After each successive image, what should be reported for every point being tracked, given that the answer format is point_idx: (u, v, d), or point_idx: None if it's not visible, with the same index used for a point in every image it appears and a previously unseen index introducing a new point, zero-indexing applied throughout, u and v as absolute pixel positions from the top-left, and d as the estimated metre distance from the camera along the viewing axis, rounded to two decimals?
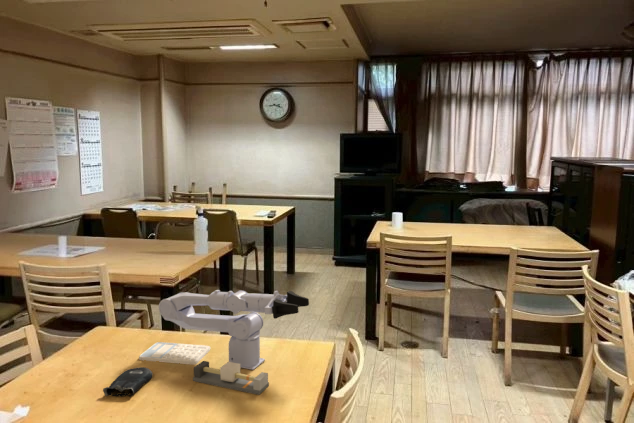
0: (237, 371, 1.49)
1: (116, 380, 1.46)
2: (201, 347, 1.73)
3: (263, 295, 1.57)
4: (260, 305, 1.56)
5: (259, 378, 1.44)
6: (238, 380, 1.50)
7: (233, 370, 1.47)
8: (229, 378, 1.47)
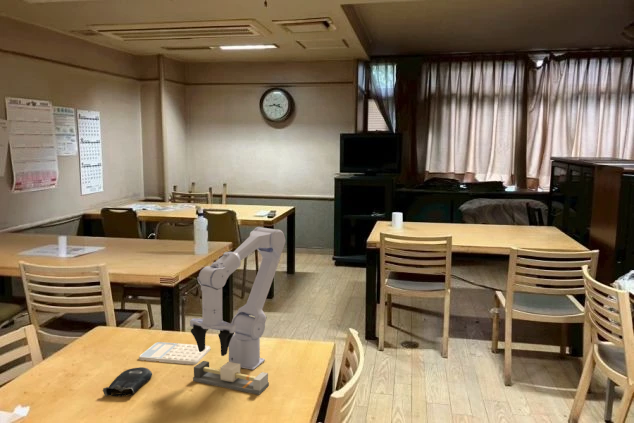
0: (237, 371, 1.49)
1: (116, 380, 1.46)
2: None
3: (205, 312, 1.47)
4: None
5: (259, 378, 1.44)
6: (238, 380, 1.50)
7: (233, 370, 1.47)
8: (229, 378, 1.47)
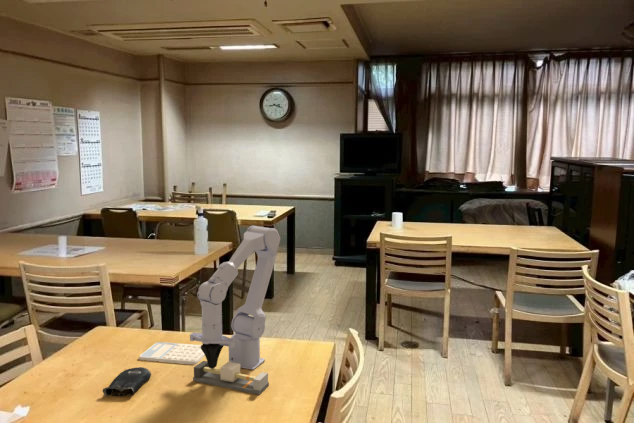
0: (237, 371, 1.49)
1: (115, 380, 1.46)
2: None
3: (204, 327, 1.48)
4: None
5: (259, 378, 1.44)
6: (238, 380, 1.50)
7: (233, 370, 1.47)
8: (229, 378, 1.47)
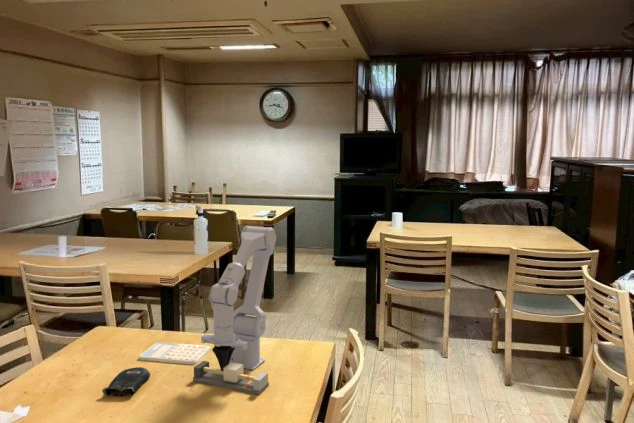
0: (240, 372, 1.49)
1: (114, 380, 1.46)
2: (201, 347, 1.73)
3: (216, 329, 1.46)
4: None
5: (259, 378, 1.44)
6: None
7: (236, 371, 1.47)
8: (232, 379, 1.47)
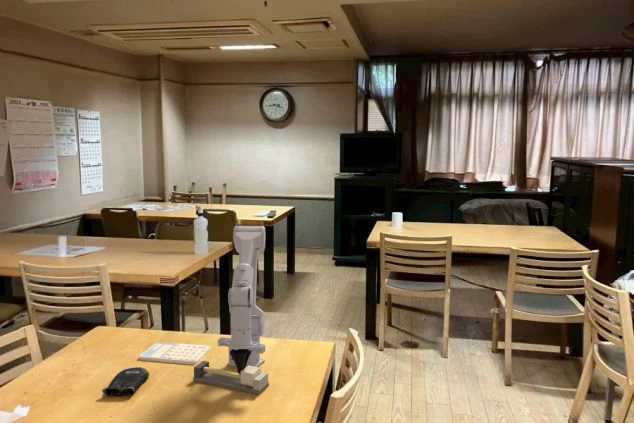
0: (257, 375, 1.47)
1: (114, 380, 1.46)
2: (201, 347, 1.73)
3: (233, 332, 1.44)
4: None
5: (259, 378, 1.44)
6: (238, 380, 1.50)
7: (254, 375, 1.44)
8: (250, 382, 1.45)
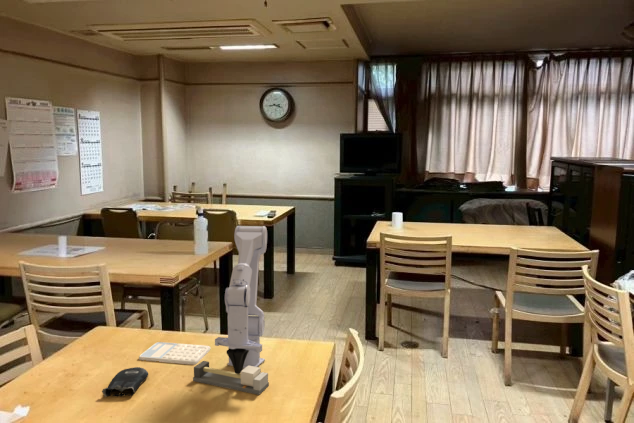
0: (257, 375, 1.47)
1: (113, 381, 1.46)
2: (201, 347, 1.73)
3: (230, 332, 1.44)
4: None
5: (259, 378, 1.44)
6: (238, 380, 1.50)
7: (253, 374, 1.44)
8: (250, 382, 1.45)
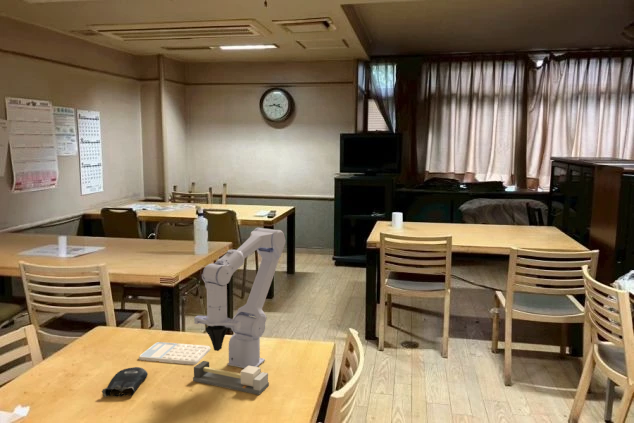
0: (257, 375, 1.47)
1: (113, 381, 1.46)
2: (201, 347, 1.73)
3: (209, 309, 1.47)
4: None
5: (259, 378, 1.44)
6: (238, 380, 1.50)
7: (253, 374, 1.44)
8: (250, 382, 1.45)
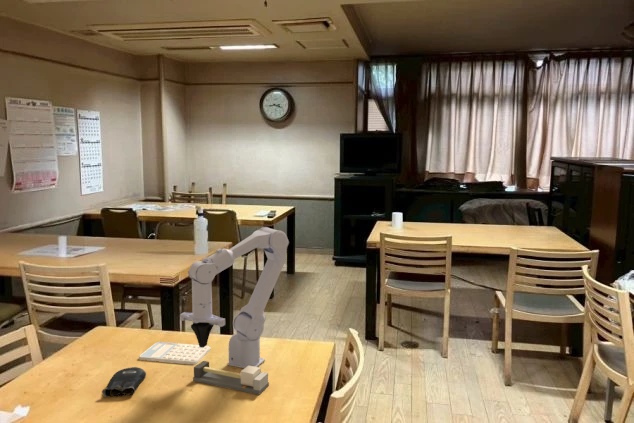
0: (257, 375, 1.47)
1: (112, 381, 1.45)
2: (201, 347, 1.73)
3: (194, 306, 1.49)
4: None
5: (259, 378, 1.44)
6: (238, 380, 1.50)
7: (253, 374, 1.44)
8: (250, 382, 1.45)
